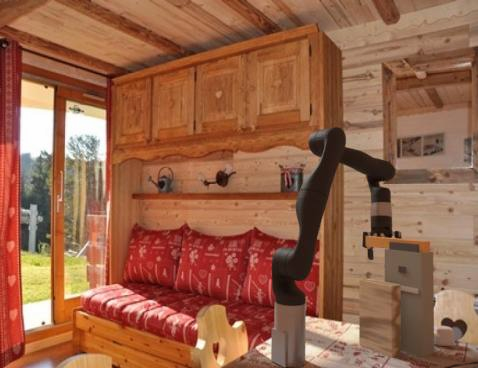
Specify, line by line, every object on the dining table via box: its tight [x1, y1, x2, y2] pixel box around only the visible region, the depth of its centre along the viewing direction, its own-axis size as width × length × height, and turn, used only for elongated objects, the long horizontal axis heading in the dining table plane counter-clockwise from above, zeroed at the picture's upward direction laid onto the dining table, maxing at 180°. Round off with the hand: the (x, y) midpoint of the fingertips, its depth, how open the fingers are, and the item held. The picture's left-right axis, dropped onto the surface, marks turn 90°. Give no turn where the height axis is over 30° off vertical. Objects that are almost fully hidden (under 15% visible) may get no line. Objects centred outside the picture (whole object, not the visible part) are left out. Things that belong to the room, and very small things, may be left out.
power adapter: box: [434, 325, 455, 347], centre depth 132 cm, size 11×5×6 cm, turn 83°
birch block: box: [358, 278, 402, 358], centre depth 127 cm, size 5×12×22 cm, turn 35°
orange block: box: [366, 235, 431, 253], centre depth 132 cm, size 4×22×4 cm, turn 35°
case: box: [384, 242, 435, 359], centre depth 128 cm, size 7×13×34 cm, turn 35°
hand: (382, 260), depth 141 cm, fingers open, 8 cm apart
